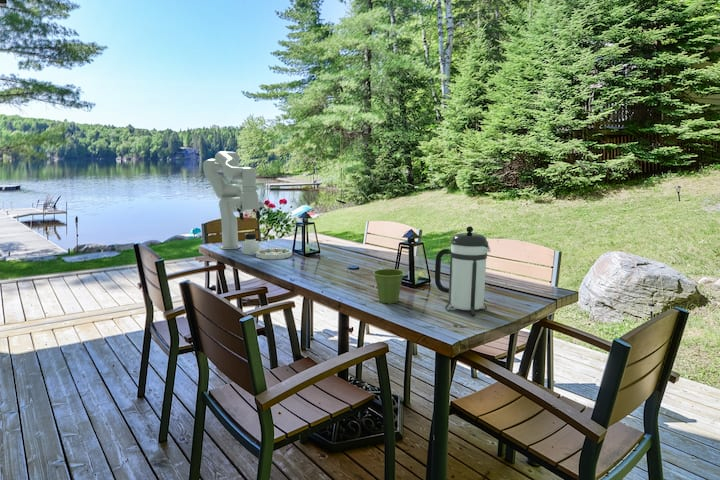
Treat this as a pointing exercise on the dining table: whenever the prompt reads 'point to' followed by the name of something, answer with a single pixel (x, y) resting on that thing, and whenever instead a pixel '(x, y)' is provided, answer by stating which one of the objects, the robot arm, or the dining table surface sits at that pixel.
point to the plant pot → (388, 284)
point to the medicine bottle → (250, 244)
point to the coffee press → (465, 271)
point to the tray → (273, 253)
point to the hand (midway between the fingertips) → (249, 219)
